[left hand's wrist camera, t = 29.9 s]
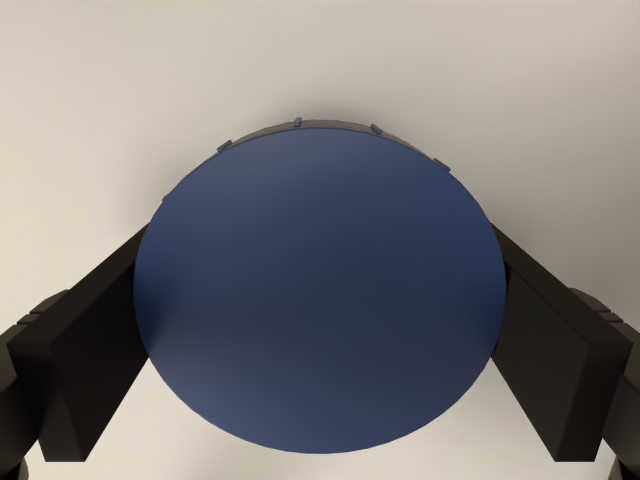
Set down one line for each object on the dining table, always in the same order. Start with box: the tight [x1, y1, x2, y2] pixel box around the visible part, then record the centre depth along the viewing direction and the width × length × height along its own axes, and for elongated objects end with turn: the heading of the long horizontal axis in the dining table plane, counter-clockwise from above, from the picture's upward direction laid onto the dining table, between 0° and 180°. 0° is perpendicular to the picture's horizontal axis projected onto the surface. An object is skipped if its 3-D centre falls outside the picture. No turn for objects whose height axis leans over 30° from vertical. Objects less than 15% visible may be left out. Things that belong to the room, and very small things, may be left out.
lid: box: [133, 117, 507, 454], centre depth 11 cm, size 9×9×2 cm
